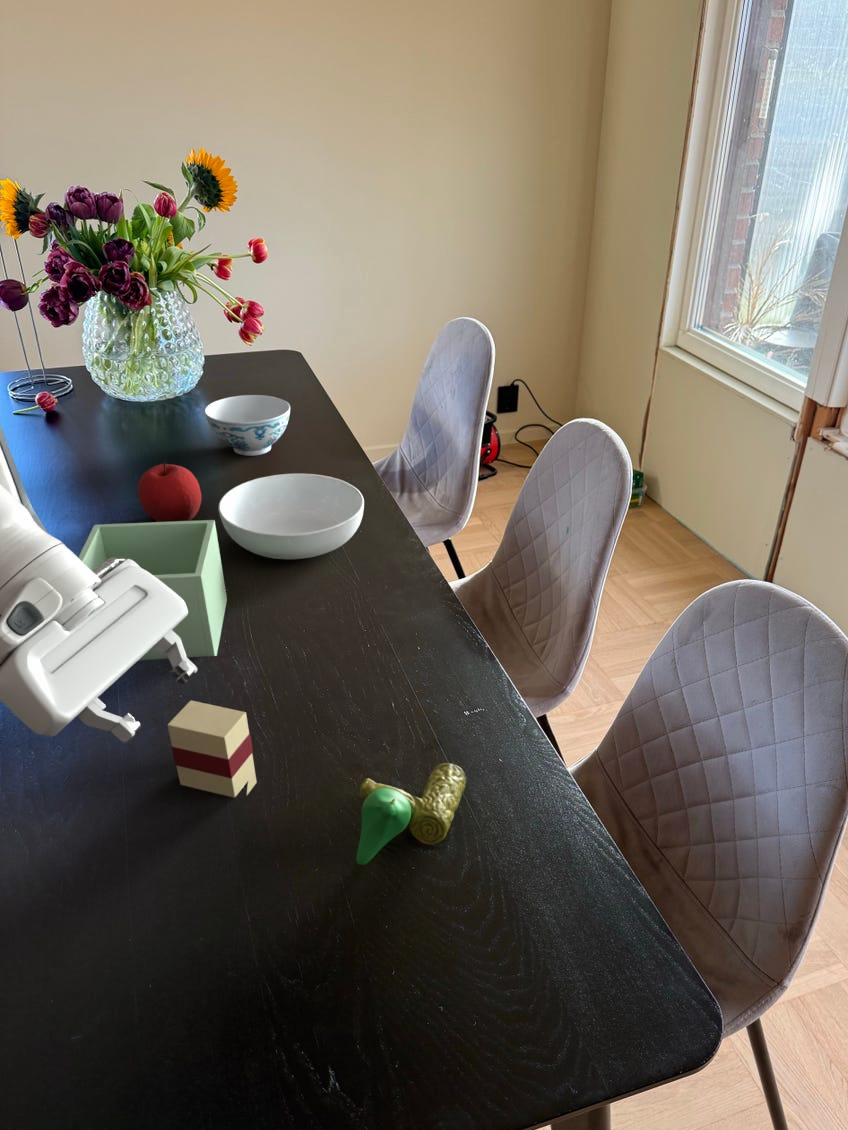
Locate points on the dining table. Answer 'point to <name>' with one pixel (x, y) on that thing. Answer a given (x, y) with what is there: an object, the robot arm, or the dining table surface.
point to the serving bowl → (292, 515)
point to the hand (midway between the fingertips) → (163, 705)
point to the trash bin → (172, 572)
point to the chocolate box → (212, 749)
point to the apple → (169, 493)
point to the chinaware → (249, 422)
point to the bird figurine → (409, 810)
